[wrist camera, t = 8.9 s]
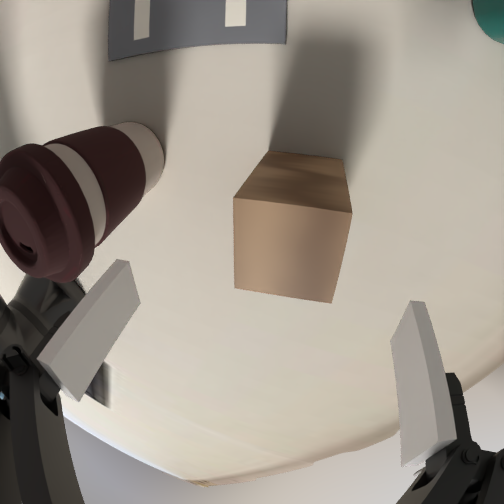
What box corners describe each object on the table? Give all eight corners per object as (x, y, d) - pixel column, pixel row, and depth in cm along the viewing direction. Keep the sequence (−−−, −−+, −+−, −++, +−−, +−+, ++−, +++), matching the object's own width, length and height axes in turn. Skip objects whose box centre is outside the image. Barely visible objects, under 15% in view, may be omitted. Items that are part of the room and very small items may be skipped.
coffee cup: (126, 87, 22) (-15, 129, 10) (199, 154, 24) (83, 246, 12) (85, 160, 27) (-23, 229, 15) (145, 220, 30) (53, 317, 17)
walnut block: (265, 215, 26) (234, 287, 18) (268, 150, 23) (233, 197, 15) (332, 225, 25) (331, 303, 17) (342, 159, 22) (352, 213, 14)
